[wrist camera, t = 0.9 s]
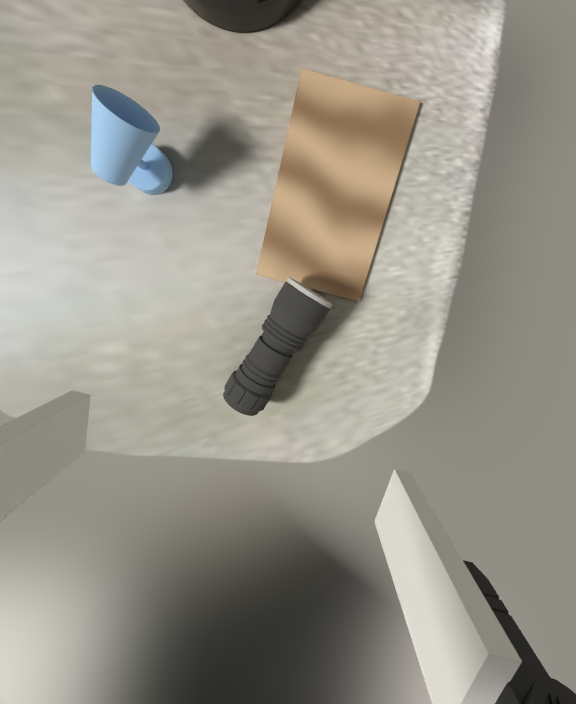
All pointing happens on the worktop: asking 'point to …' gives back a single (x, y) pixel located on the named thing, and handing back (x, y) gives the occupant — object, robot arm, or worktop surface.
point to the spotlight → (126, 143)
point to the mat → (335, 183)
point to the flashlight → (275, 346)
